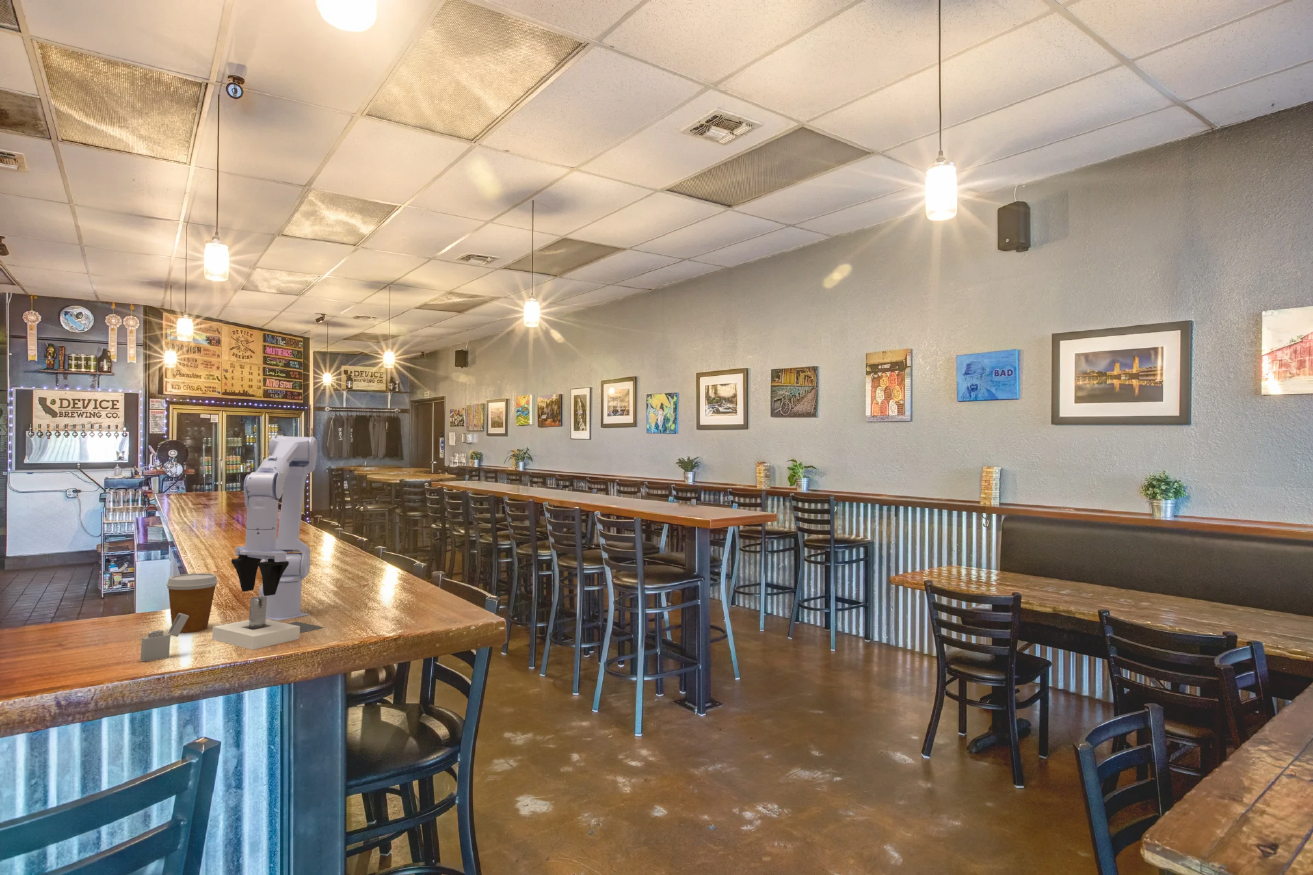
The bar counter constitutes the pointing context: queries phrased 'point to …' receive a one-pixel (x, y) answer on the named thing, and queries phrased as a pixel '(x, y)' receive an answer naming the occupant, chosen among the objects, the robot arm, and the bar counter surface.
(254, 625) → the peg
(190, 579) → the disposable coffee cup
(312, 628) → the mat
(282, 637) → the block
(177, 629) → the lighter
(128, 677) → the bar counter surface
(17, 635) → the bar counter surface
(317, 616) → the bar counter surface
